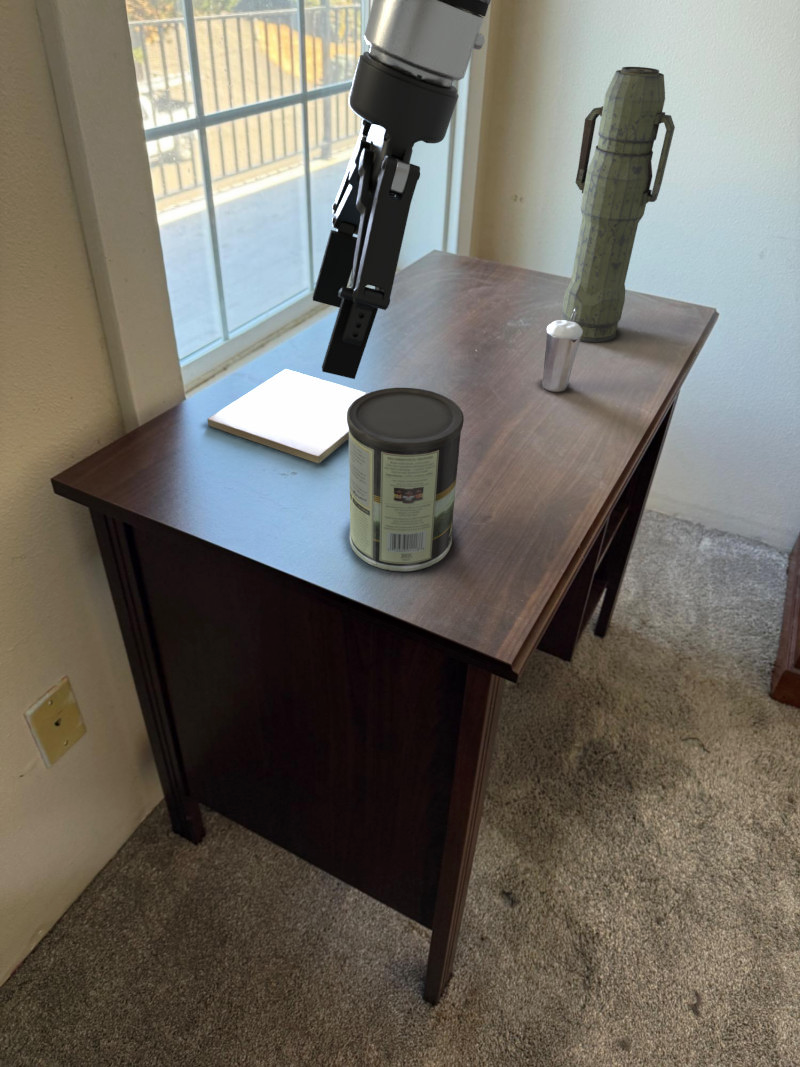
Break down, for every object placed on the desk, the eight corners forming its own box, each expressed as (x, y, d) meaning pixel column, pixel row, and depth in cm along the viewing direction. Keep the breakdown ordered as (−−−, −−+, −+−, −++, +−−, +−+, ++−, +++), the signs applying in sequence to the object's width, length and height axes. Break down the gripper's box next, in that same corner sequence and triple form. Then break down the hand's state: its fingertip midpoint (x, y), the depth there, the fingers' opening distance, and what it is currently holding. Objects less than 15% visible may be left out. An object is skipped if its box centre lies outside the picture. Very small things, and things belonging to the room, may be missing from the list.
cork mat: (318, 464, 84) (318, 456, 84) (208, 425, 90) (206, 418, 89) (388, 406, 95) (388, 399, 95) (285, 375, 101) (285, 368, 100)
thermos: (558, 313, 122) (602, 61, 100) (631, 328, 118) (692, 70, 96) (542, 332, 115) (585, 68, 94) (618, 349, 112) (681, 77, 90)
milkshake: (578, 382, 102) (592, 312, 96) (563, 397, 99) (577, 325, 93) (548, 373, 104) (560, 304, 98) (532, 388, 101) (543, 316, 94)
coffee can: (416, 497, 80) (423, 377, 71) (471, 551, 73) (487, 426, 64) (330, 525, 75) (326, 401, 67) (380, 585, 69) (383, 455, 60)
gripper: (502, 127, 45) (391, 420, 57) (430, 55, 63) (358, 288, 76) (385, 83, 42) (295, 399, 55) (346, 22, 61) (285, 268, 73)
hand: (331, 335), depth 65 cm, fingers open, 13 cm apart
